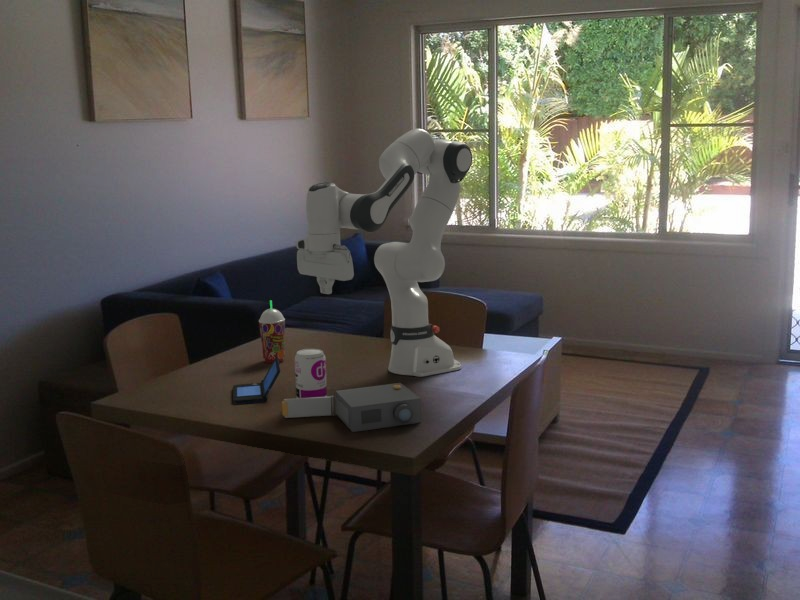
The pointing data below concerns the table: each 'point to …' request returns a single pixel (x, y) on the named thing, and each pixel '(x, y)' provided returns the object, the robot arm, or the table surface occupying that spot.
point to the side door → (308, 407)
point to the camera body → (377, 407)
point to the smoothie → (272, 334)
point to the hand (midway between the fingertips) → (326, 293)
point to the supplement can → (310, 373)
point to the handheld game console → (256, 387)
